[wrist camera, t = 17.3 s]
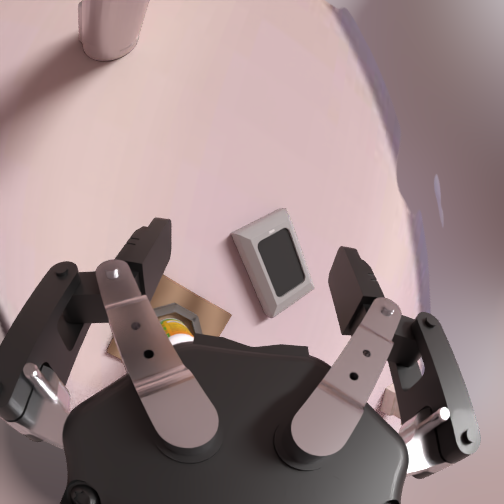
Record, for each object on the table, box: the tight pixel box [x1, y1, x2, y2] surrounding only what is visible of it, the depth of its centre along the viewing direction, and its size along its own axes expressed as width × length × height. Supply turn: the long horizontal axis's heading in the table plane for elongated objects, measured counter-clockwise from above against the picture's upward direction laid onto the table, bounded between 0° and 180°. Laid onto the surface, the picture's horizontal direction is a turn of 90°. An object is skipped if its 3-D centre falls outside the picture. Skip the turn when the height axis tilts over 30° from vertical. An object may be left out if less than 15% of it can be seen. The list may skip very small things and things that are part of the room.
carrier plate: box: [107, 275, 232, 360], centre depth 37 cm, size 14×14×2 cm
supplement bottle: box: [160, 318, 194, 345], centre depth 33 cm, size 5×5×10 cm
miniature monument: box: [380, 383, 402, 425], centre depth 59 cm, size 10×10×30 cm
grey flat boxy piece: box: [231, 208, 314, 318], centre depth 44 cm, size 10×4×15 cm
